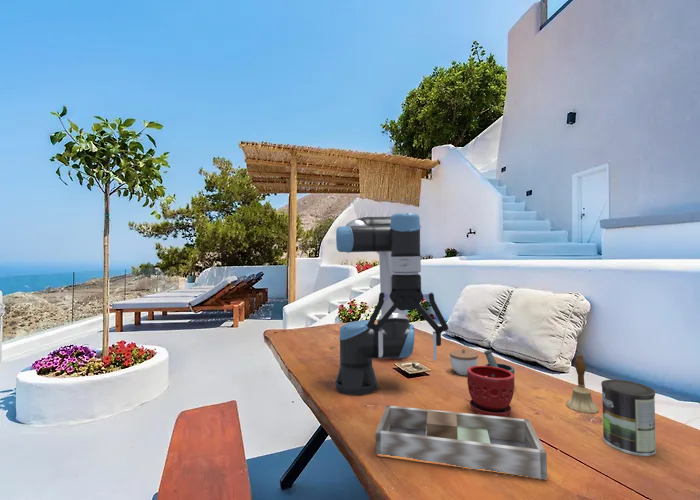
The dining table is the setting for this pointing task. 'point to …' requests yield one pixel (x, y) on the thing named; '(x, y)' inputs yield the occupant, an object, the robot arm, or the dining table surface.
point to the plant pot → (490, 390)
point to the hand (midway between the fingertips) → (407, 357)
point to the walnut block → (442, 425)
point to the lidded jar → (463, 360)
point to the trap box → (464, 442)
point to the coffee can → (629, 417)
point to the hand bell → (581, 391)
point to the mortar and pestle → (494, 364)
